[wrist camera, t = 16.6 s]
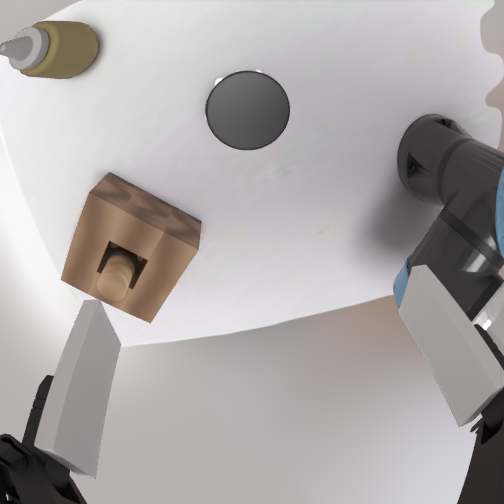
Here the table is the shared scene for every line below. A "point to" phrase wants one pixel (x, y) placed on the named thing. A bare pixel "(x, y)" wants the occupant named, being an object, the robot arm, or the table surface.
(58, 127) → the table surface
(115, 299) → the oak peg
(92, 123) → the table surface
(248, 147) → the jar
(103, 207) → the walnut socket block
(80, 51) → the squeeze bottle
